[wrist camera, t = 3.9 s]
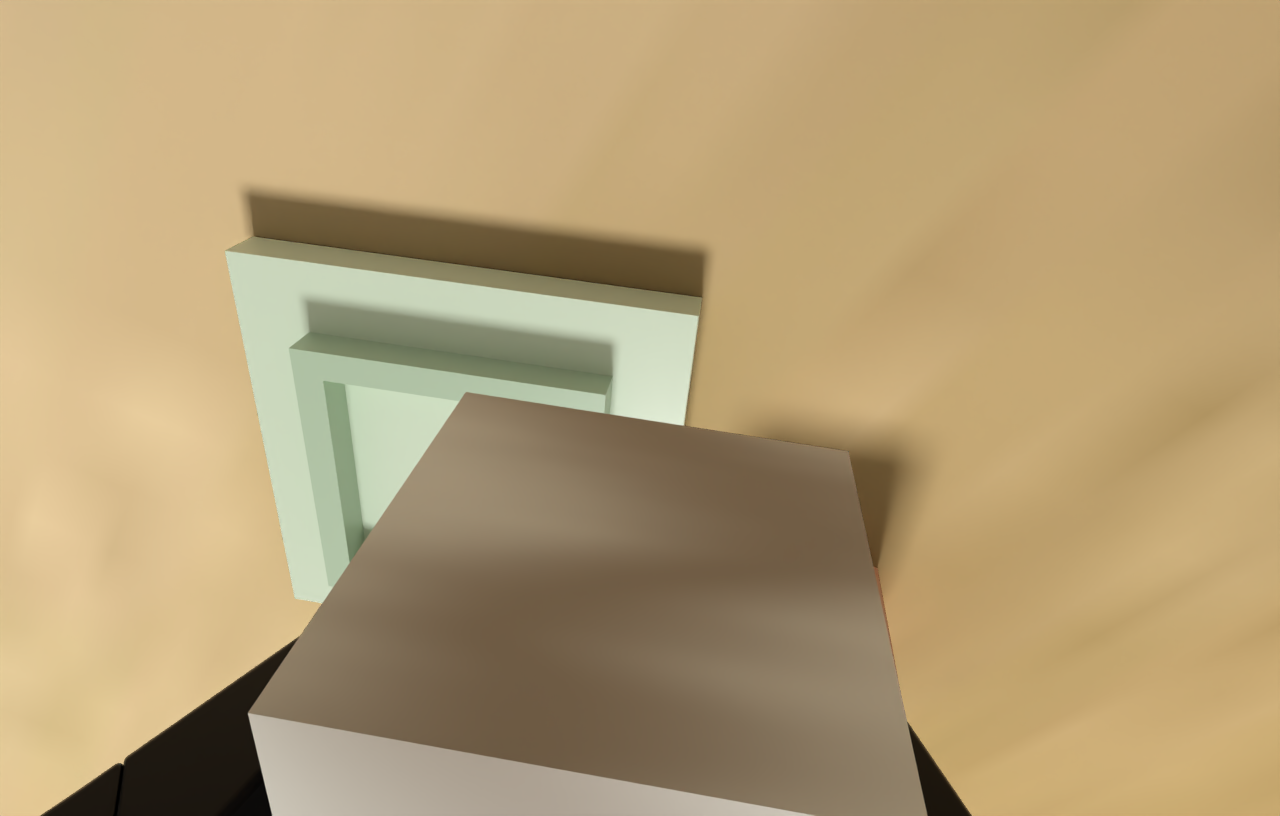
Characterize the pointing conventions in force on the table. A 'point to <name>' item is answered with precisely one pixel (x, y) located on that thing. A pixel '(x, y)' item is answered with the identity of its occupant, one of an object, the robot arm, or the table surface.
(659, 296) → the baseplate
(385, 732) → the cream brick
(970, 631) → the table surface
